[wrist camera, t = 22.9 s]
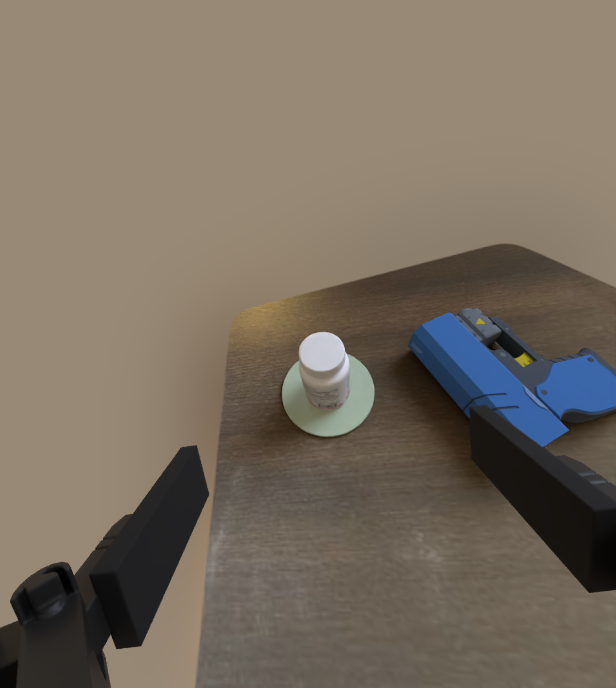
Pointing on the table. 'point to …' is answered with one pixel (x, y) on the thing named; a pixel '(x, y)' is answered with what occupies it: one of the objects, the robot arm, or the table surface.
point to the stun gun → (514, 375)
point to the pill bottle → (324, 370)
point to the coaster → (329, 420)
